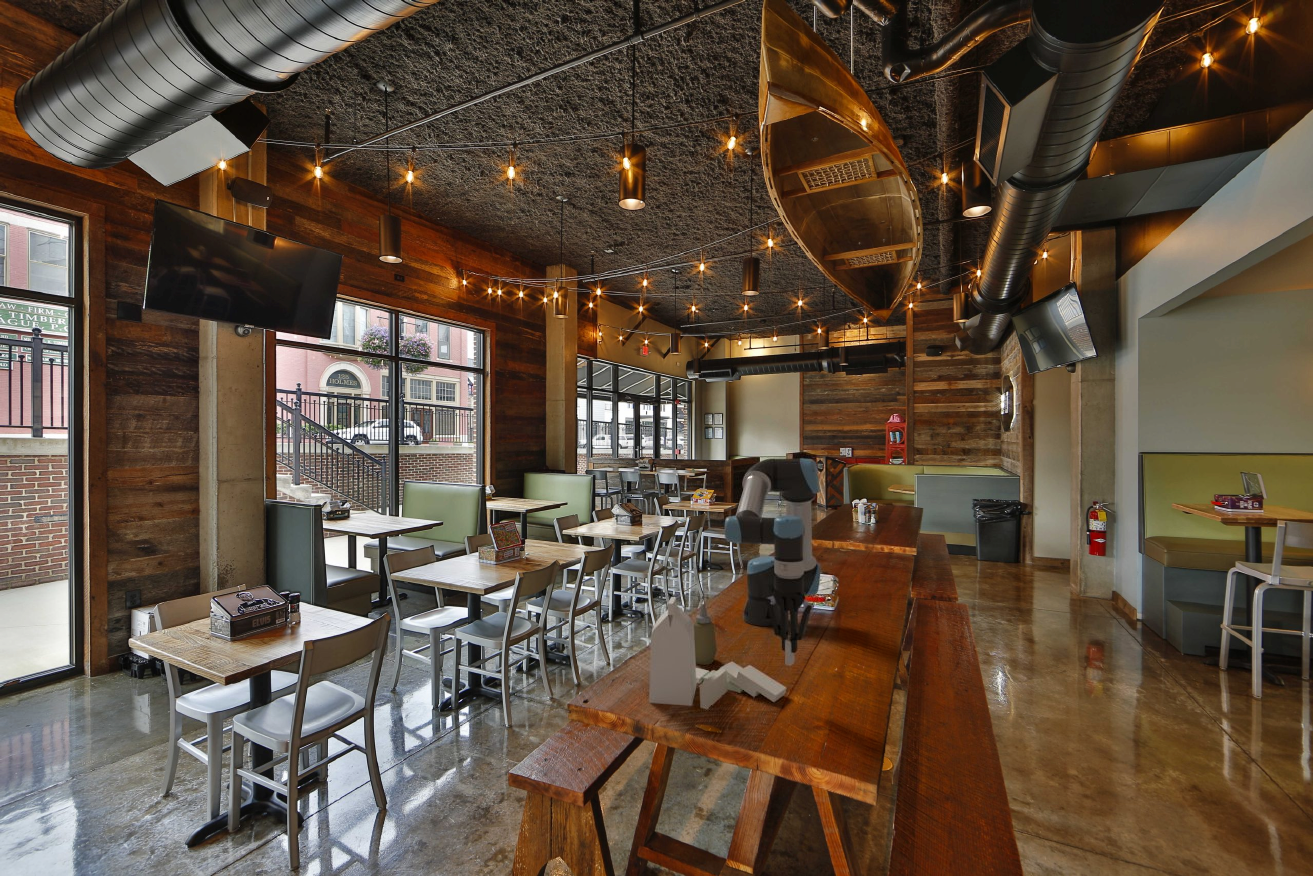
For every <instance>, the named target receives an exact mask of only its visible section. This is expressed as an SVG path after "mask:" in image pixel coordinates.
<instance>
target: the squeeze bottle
mask: <svg viewBox="0 0 1313 876" xmlns="http://www.w3.org/2000/svg"><path fill="white" fill-rule="evenodd" d="M693 624H694V641H695V662H696V664H698V665H702V666H703V665H704V666H706V665H711V664H712V663H714V661H715V657H716V654H717V651H718V650H717V640H716V633H715V631H716V630H715V625H714V622H712V617H711V614H709V613H708V612H707V608H706V604H705V603H702V604H700V610H699V614H697V615H695V622H694V621H693Z"/></svg>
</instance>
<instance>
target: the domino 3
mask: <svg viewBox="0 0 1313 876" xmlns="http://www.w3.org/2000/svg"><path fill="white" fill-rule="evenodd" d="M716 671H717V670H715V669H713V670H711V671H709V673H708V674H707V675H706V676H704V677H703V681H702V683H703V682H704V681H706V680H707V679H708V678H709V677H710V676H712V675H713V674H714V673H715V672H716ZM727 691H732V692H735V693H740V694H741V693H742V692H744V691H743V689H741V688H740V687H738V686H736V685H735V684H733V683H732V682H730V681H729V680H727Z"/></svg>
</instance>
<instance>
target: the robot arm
mask: <svg viewBox="0 0 1313 876" xmlns="http://www.w3.org/2000/svg"><path fill="white" fill-rule="evenodd" d="M819 479H820V477H819V471H818V465H817V463H816V461H815V460H814V459H812V458H803V457H801V458H767V459H763V460H760V461H758V462H756V463H755V464H753V465H752V466H751V467H750V468H749V469H748V470H747V471H746V473H745V474H744V476H743V479H742V484H741V485H742V488H743V491H742V492H741V493H742V494H741V495H740V496H741V497H740V500H739V503H738V506H737V510H736V513H735V515H732V516H728V517H726V518H725V520H724V521H725V522H724V538H725V540H726V542H729V543H735V544H739V545H740V544H754V545H755V544H756V545H759V544H760V545H774V546H773V547H774V548H773V549H774V556H773V555H766V556H758V557H755V558H751V559H750V560H748V562H747V565H746V566H747V568H746V569H747V570H746V575H747V576H746V577H747V580H746V581H747V582H746V584H747V587H746V588H747V589H746V590H747V598H746V603H745V605H744V608H743V612H742V619H743V621H744V622H746V623H747V624H750V625H753V626H759V627H760V626H761V627H772V628H773V632H774V635H775V636H777V637H779V638H780V639H781V650H782V651H783V652H784V657H785V658H784V659H785V661H784V662H785V663H784V664H785V666H789V667H790V666H792V665H793V664H794V663H795V654H796V653H797V652H798V649H799V647H798V644H799V643H798V641H802V640H803V638H804V637H805V636H806V632H807V628H808V624H809V620H810V619H809V618H810V615H811V612H812V610H814V607H815V605H814V603H812V602H811V603H810V602H809V601H807V599H806V596H815V595H817V594H818V592H819V590H820V589H819V588H820V582H821V581H820V580H821V569H822V568H821V566H822V565H821V564H820V563H818V561H817V559H816V557H815V556H813V540H812V539H813V535H812V534H813V533H812V532H813V531H812V528H813V527H812V502H813V501H814V500H815V498H816V494H819V493H820V491H821V489H820V487H821V486H820V480H819ZM769 493H780V495H781V498H782V500H784V501H785V513H786V515H779V516H776V517H764V516H763V512H764V507H765V502H766V497H767V495H768V494H769ZM801 607H802V609H803V612H802V615H801V620H800V624H799V616H798V615H799V609H800V608H801ZM789 617H790V618H789ZM789 619H790V620H789ZM789 621H790V622H789ZM789 624H790V625H789ZM789 626H790V629H789ZM789 632H790V633H789ZM789 636H790V637H789Z"/></svg>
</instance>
